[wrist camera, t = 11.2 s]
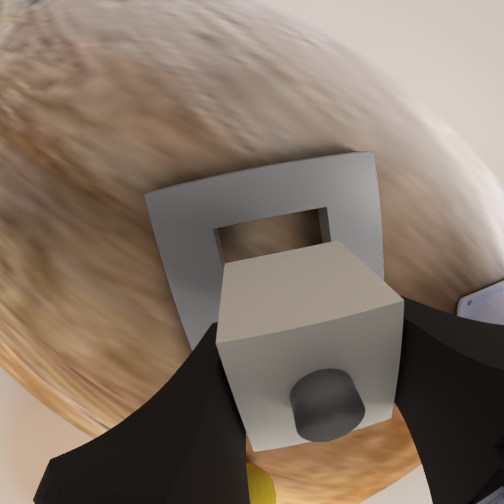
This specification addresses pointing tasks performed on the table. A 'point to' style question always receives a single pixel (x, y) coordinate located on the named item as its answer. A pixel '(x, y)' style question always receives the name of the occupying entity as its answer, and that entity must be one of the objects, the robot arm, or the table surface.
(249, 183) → the socket plate
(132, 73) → the table surface
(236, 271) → the plug
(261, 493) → the lemon
